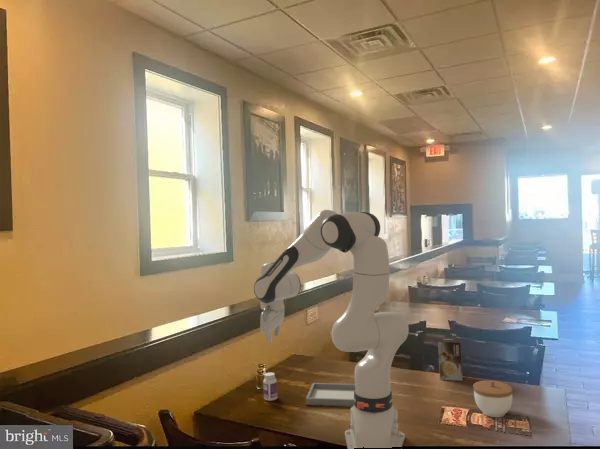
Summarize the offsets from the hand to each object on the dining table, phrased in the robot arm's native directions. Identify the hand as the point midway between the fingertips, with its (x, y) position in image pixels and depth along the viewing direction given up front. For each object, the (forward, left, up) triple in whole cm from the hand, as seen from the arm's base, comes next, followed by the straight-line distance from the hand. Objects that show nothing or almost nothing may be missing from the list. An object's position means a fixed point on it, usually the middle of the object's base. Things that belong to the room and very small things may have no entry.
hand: (273, 338), depth 181 cm
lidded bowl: (-6, -79, -24) cm, 83 cm away
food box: (+27, -69, -24) cm, 78 cm away
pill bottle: (-1, +2, -24) cm, 24 cm away
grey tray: (+2, -24, -23) cm, 33 cm away
